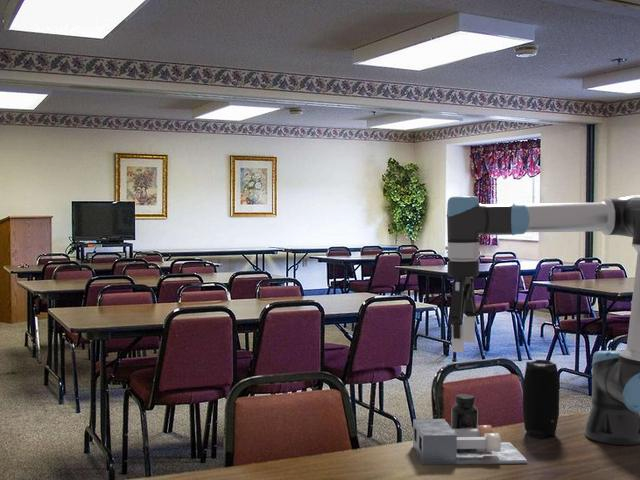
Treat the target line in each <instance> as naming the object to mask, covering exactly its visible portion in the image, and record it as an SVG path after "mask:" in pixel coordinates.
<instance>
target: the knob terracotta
mask: <svg viewBox="0 0 640 480" xmlns="http://www.w3.org/2000/svg"><path fill="white" fill-rule="evenodd" d="M452 430H453V431H454V432H455V433H456V435H457V437H484V434H485V433H494V432H493V431H494V430H493V427H492V425H490V424H482V425H481V424H480V425H479V424H478V426H477V429H452Z"/></svg>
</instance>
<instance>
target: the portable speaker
mask: <svg viewBox="0 0 640 480" xmlns="http://www.w3.org/2000/svg"><path fill="white" fill-rule="evenodd" d="M522 415H523V424H524V430H525V431H526V432H527V434H528V435H529V437H530V438H536V439H544V438H545V437H546V436H550V435H551V436H552V437H555V436H556V432H557V426H558V423H559V422H558V421H559V418H560V417H559V415H560V380H559V373H558V367H557V363H554V362H552V361H550V360H548V359H547V360H546V359H535V360H533V361H526V364H525V372H524V376H523V381H522Z"/></svg>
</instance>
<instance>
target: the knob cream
mask: <svg viewBox="0 0 640 480" xmlns="http://www.w3.org/2000/svg"><path fill="white" fill-rule="evenodd" d="M501 442H502V441H501V436H500V433H498V432H493V433H485V434H484V437H457V449H485V451H486V452H500V450H501Z"/></svg>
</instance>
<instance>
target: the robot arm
mask: <svg viewBox="0 0 640 480" xmlns="http://www.w3.org/2000/svg"><path fill="white" fill-rule="evenodd" d="M479 200H480V199H479V197H478V196H474V195H473V196H468V195H467V196H450V197H449V198H448V199H447V207H446V209H447V210H446V227H447V229H446V233H447V246H445V247H444V248H445V250H446V251H447V259H449V260H448V262H447V276H448V277H452V278H453V277H454V278H455V281H453V282H452V284H451V290H452V291H451V301H450V310H449V320H447V324H448V325H451V352H452V353H465V343H469V344H470V343H471V344H475V343H476V317H479V312H478V310H477V304H476V296H475V294H476V293H475V287H474V282H475V277H478V276H479V275H480V262H479V260H478V259H479V258H480V241H479V240H480V239H479V238H480V236H486V235H487V236H505V235H506V236H508V235H510V236H515V235H524V234H526V233H572V232H574V233H575V232H577V233H578V232H583V233H584V232H587V233H588V232H601V233H602V234H603V235H605V236H620V237H621V236H622V237H629V238H632V244H631V246H632V247H633V248H634V249H635V251H636V253H637V257H636V266H635V274H634V281H633V282H634V283H633V290H632V298H631V308H630V316H629V317H630V318H629V323H628V324H629V325H628V334H627V341H626V347H625V348H624V349H623V350H598V351H595V352H594V353H593V356H592V363H591V368H592V369H591V372H592V373H591V379H592V380H591V408H590V410H589V413H588V415H587V418H586V421H585V424H584V436H585V437H587V438H588V439H589V440H593V441H595V442H598V443H605V444H609V445H617V446H634V445H635V446H636V445H640V193H639V194H633V195H628V196H623V197H622V196H620V197H611V198H603V200H601V202H551V203H548V202H547V203H546V202H545V203H541V202H540V203H538V202H537V203H515V202H514V203H513V202H512V203H494V204H493V203H480V202H479Z"/></svg>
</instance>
